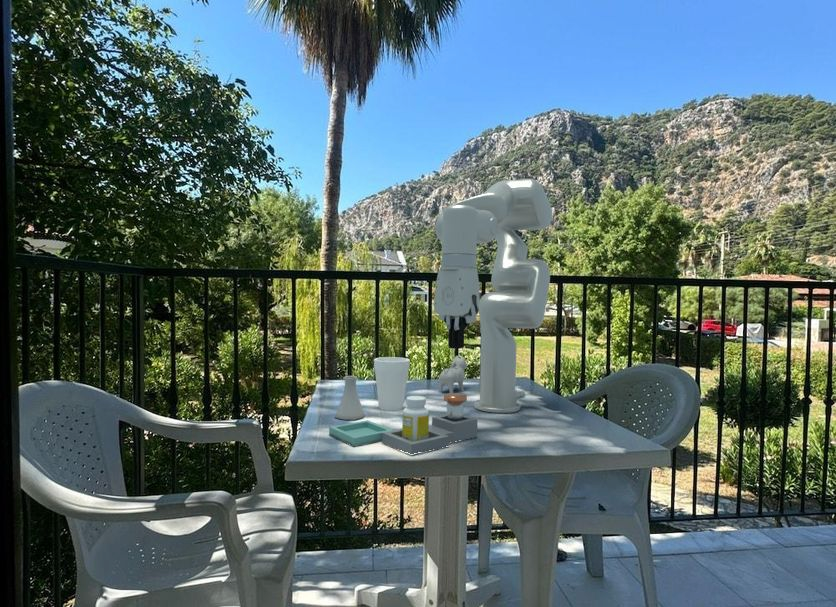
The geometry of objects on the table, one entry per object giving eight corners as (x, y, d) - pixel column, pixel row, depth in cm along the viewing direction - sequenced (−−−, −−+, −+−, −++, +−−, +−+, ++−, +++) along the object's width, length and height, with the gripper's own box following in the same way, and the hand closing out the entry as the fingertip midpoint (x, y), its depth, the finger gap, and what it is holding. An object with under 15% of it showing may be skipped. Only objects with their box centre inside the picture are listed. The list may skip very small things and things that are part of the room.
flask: (369, 415, 131) (370, 375, 131) (356, 422, 124) (357, 380, 124) (343, 412, 134) (344, 373, 133) (329, 419, 127) (330, 378, 126)
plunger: (455, 422, 118) (455, 392, 118) (470, 428, 114) (471, 396, 114) (438, 426, 115) (439, 394, 114) (453, 431, 111) (454, 398, 111)
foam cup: (395, 414, 133) (396, 363, 132) (366, 408, 138) (367, 359, 137) (415, 407, 141) (416, 359, 141) (387, 402, 146) (388, 356, 145)
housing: (450, 428, 120) (451, 411, 120) (481, 438, 113) (482, 420, 113) (381, 443, 108) (382, 423, 108) (411, 455, 101) (411, 435, 100)
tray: (367, 428, 119) (368, 420, 119) (393, 438, 111) (394, 430, 111) (329, 435, 113) (329, 427, 113) (353, 447, 105) (354, 438, 105)
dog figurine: (470, 388, 169) (471, 356, 168) (451, 395, 158) (452, 360, 157) (456, 386, 171) (457, 354, 171) (436, 392, 161) (437, 358, 160)
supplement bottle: (429, 441, 110) (430, 395, 110) (427, 449, 104) (428, 401, 104) (403, 440, 110) (404, 394, 110) (400, 448, 105) (401, 400, 105)
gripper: (423, 263, 116) (420, 345, 117) (470, 261, 105) (467, 352, 105) (448, 265, 121) (445, 344, 122) (496, 263, 110) (493, 351, 110)
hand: (456, 348), depth 113 cm, fingers closed
